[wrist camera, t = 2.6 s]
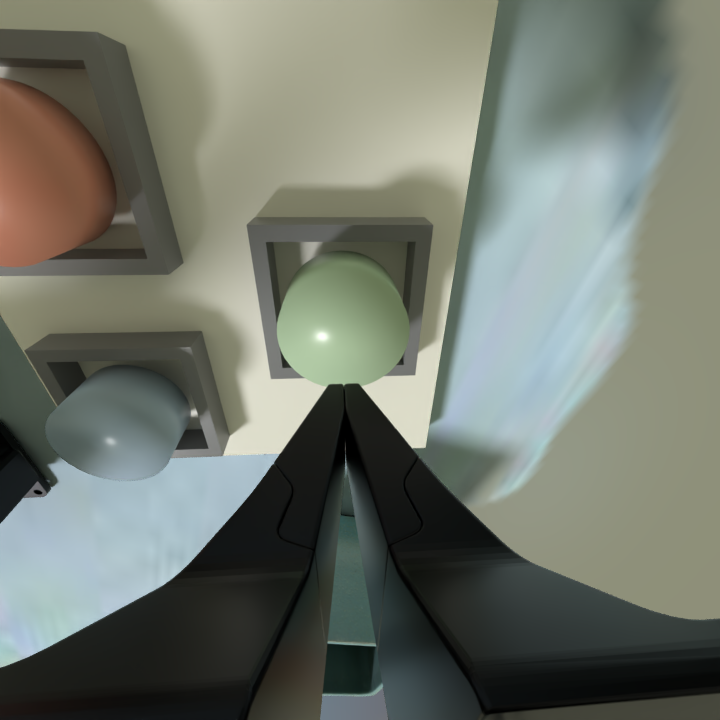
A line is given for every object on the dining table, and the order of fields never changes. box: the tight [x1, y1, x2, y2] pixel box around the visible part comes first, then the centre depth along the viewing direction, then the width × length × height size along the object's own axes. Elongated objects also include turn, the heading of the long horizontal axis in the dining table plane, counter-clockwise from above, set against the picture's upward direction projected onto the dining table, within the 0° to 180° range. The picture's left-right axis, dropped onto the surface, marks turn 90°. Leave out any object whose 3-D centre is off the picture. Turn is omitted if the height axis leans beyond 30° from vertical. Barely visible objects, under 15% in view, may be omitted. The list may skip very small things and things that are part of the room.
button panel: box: [0, 0, 499, 458], centre depth 15 cm, size 20×20×3 cm
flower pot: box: [322, 515, 383, 696], centre depth 24 cm, size 9×9×9 cm
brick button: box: [0, 78, 117, 267], centre depth 10 cm, size 5×5×2 cm
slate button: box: [45, 365, 191, 481], centre depth 16 cm, size 5×5×2 cm
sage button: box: [277, 251, 410, 387], centre depth 13 cm, size 5×5×2 cm
